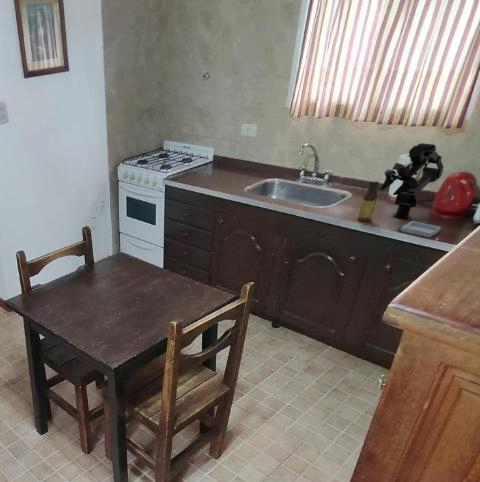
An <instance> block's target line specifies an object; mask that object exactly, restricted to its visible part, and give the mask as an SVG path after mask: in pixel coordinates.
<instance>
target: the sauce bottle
mask: <svg viewBox="0 0 480 482" xmlns="http://www.w3.org/2000/svg"><path fill="white" fill-rule="evenodd" d="M379 183H380V181H379V180H375V179H372V180H369V183H368V188H367V191H366V192H365V193H364V195H363V197H362V202H361V205H360V209H359V213H358V217H357V219H358V220H359V221H361V222H369V221H371V220H372V218H373V214H374V210H375V208H376V207H375V206H376V204H377V203H376V202H377V201H378V200H377V199H378V193H377V192H378V191H377V190H378V185H379Z"/></svg>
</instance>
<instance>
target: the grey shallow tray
mask: <svg viewBox="0 0 480 482" xmlns="http://www.w3.org/2000/svg"><path fill="white" fill-rule="evenodd" d="M441 228H442V227H441V226H438V225H433V224H430V223H429V224H428V223H424V222H420V221H415V220H411V221H409V222H408V223H406V224H404V225H403V226H401V228H400V232H402V233H407V234H412V235H416V236H419V237H425V238H427V239H428V238H429V239H430V238H431V237H433V236H434V235H436V234H437V233H439V232H440V231H441Z"/></svg>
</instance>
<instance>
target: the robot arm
mask: <svg viewBox="0 0 480 482" xmlns="http://www.w3.org/2000/svg"><path fill="white" fill-rule="evenodd" d="M408 155H409V161H410V162H409V163H405V164H402V163H398V162H395V163H394V165H393V166H392V169H391V168H389V169H386V170H385V171H384V176H385V179H384V182H383V184H382V186H380V191H383V190H385V189H386V188H388V187H389V186H391V185H392V184H395V181H397V180H398V181H400V182H401V183H402V184H400V186H398V187H397V189H396V190H395V191H394V192H393V193H392V195H393V196H395V203H394V205H398V207H397V208H396V212H395V214H394V216H393V217H394V218H397V219H406V220H408V219H409V217H410V212H411V210H412V209H411V208H416V206H417V204H418V194H419V193H420V192H422V190H423V189H425V187H426V186H427V185H429V184H430V183H434V182H437V181H438V180H439V179H441V178H442V175H443V171H444V165H443V162H442V159H443V157H442V156H441V155H440V154H439V153H438V152H437V147H436V144H434V143H423V142H421V143H420V144H419V143H417V145H416V146H413V147H411V148H410V149H409V151H408ZM429 164H436V167H437V168H436V167H430V166H428V165H429ZM421 169H422V172H421V177H420V178H419V179H417V178H416V177H415V176H417V175H418V173H417V172H419V171H420V170H421Z"/></svg>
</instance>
